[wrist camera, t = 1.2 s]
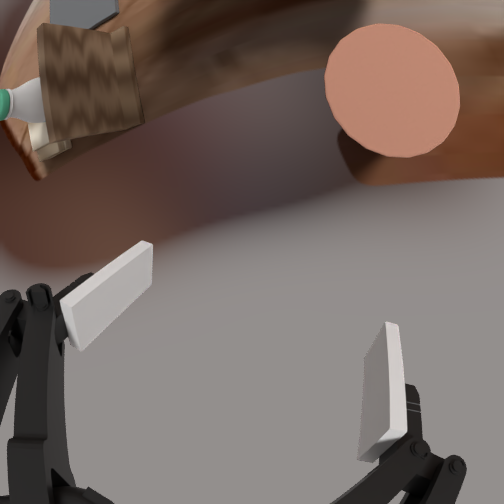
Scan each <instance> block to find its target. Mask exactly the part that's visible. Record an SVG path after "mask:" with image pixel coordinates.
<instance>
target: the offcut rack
mask: <svg viewBox="0 0 504 504" xmlns="http://www.w3.org/2000/svg"><path fill="white" fill-rule="evenodd" d="M37 45H38V62H39V74H40V84H41V93H42V101H43V108H44V115H45V121H46V122H42V123H30V122H28V127H29V133H30V139H31V144H32V150H33V151H37V153H38V158H39V162H41V161H45V160H47V159H50V158H52V157H54V156H56V155H58V154H60V153H62V152H64V151H66V150H68V149H70V148H72V144H71V139H75V138H81V137H86V136H92V135H98V134H104V133H110V132H117V131H124V130H126V129H129V128H132V127H134V126H137V125H140V124H142V123H145V121H144V117H143V112H142V106H141V101H140V96H139V91H138V85H137V80H136V74H135V68H134V62H133V56H132V49H131V43H130V36H129V29H128V27H126V26H123V27H121V28H119V29H117V30H116V31H114V32H112V33H106V32H101V31H96V30H90V29H84V28H78V27H72V26H65V25H57V24H48V23H42V24H41V25H40V26H39V27H38V28H37Z"/></svg>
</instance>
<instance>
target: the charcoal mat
mask: <svg viewBox="0 0 504 504" xmlns="http://www.w3.org/2000/svg"><path fill="white" fill-rule="evenodd" d="M118 13H119V6H118V0H50V24H57V25H65V26H72V27H78V28H84V29H90V30H92V29H94V28H95V27H97V26H99V25H100V24H102V23H103V22H105V21H107V20H108V19H110V18H111V17H113V16H115V15H117V14H118Z"/></svg>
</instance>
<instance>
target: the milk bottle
mask: <svg viewBox="0 0 504 504" xmlns="http://www.w3.org/2000/svg"><path fill="white" fill-rule="evenodd" d="M9 117H14V118H18V119H21V120H23V121H26V122H30V123H42V122H46V121H45V115H44V108H43V101H42V93H41V84H40V77H39V78H35V79H32V80H30V81H28V82H27V83H25V84H23V85H22V86H20V87H18V88H16V89H13V90H10V89H1V90H0V121H1V120H4V119H5V120H6V119H8V118H9Z"/></svg>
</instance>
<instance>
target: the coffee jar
mask: <svg viewBox="0 0 504 504" xmlns="http://www.w3.org/2000/svg"><path fill="white" fill-rule="evenodd" d="M324 81H325V94H326V99H327V101H328V104H329V106H330V109H331V111H332V113H333V116H334V118H335V119H336V120H337V122H338V123H339V124H340V126H341V127H342V128H343V130H344V131H345V132H346V133H347V135H348V136H349V137H351V138H352V139H354V140H355V141H356V142H358V143H359V144H360V145H362V146H363V147H364V148H366V149H368V150H371V151H373V152H376V153H379V154H381V155H384V156H387V157H402V158H410V157H413V156H417V155H421V154H425V153H428V152H429V151H431V150H432V149H434V148H435V147H437V146H438V145H439V144H441V143H442V142H444V140H445V139H446V138H447V136H448V135H449V133H450V132H451V130H452V129H453V127H454V126H455V123H456V120H457V116H458V112H459V108H460V96H459V85H458V82H457V79H456V76H455V74H454V71H453V69H452V66H451V64H450V63H449V61H448V60H447V59H446V57H445V56H444V55H443V53H442V52H441V51H440V50H439V48H438V47H437V46H436V45H434V44H433V43H432V42H431V41H429V40H428V39H427V38H425V37H424V36H423V35H421V34H420V33H418V32H415V31H413V30H410V29H408V28H405V27H402V26H400V25H391V24H373V25H369V26H365V27H361V28H358V29H356V30H354V31H353V32H351V33H350V34H348V35H347V36H345V37H344V38H342V39H341V40H340V41H339V43H338V44H337V45H336V47H335V48H334V50H333V51H332V53H331V54H330V55H329V58H328V62H327V66H326V70H325V74H324Z"/></svg>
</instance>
